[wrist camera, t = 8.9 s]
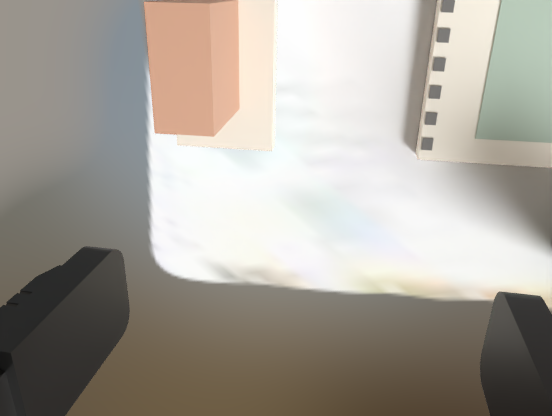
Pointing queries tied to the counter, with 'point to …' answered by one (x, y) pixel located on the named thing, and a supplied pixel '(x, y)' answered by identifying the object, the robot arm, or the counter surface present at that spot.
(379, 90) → the counter surface
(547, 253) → the counter surface
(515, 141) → the board
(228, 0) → the salmon block with base
